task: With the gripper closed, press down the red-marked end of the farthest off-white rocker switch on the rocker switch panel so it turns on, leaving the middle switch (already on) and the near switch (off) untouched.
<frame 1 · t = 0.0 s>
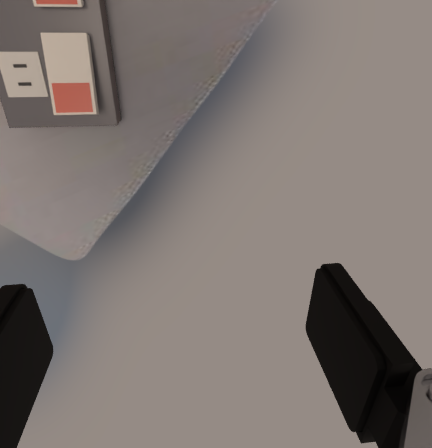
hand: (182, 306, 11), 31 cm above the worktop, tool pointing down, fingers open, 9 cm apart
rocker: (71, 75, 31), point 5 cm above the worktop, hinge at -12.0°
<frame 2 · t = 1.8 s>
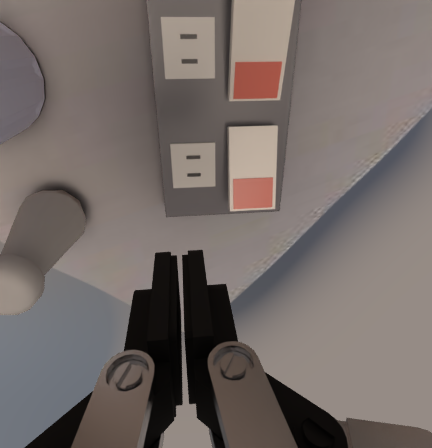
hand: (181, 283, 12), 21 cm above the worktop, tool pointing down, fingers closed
rocker middle: (258, 49, 23), point 5 cm above the worktop, hinge at 12.0°
rocker switch panel: (220, 47, 27), on the worktop
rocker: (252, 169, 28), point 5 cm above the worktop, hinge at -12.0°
salt shaker: (61, 207, 33), on the worktop
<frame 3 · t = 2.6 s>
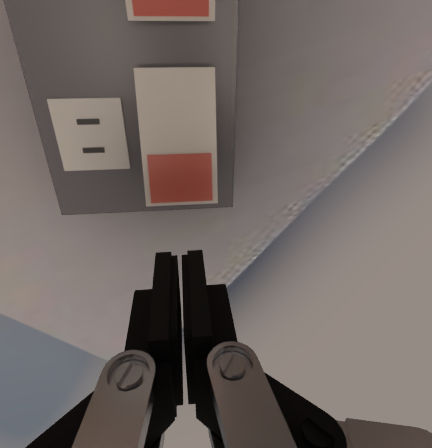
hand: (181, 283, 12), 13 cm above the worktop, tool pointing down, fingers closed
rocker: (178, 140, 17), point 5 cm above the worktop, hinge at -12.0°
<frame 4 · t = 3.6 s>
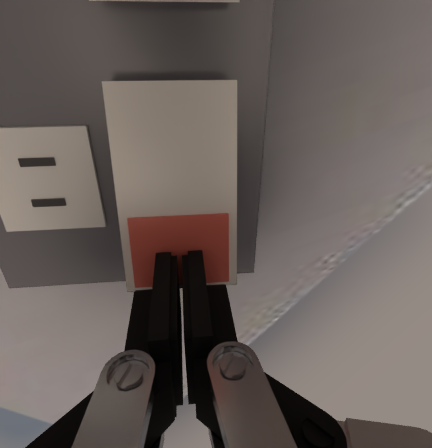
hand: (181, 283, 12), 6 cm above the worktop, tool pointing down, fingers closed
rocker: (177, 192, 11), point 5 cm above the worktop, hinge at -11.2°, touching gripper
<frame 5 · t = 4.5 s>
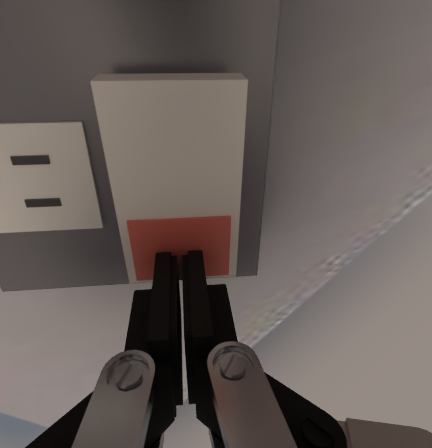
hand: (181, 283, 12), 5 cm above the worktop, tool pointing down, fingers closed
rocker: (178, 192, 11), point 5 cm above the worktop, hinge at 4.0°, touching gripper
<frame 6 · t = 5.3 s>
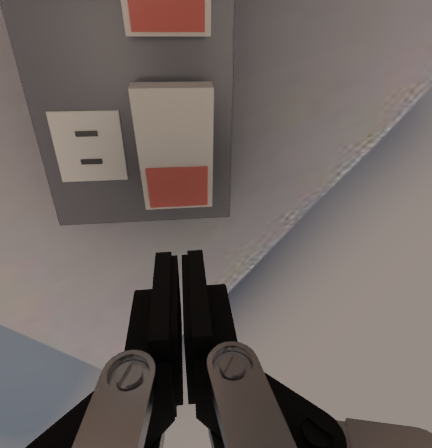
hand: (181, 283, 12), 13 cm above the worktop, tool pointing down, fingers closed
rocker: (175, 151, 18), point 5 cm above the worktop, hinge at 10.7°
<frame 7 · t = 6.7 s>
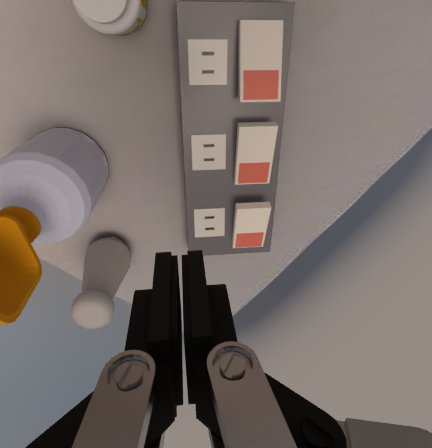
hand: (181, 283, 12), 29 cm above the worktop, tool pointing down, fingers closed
rocker middle: (254, 155, 35), point 5 cm above the worktop, hinge at 12.0°
rocker switch panel: (228, 144, 39), on the worktop
soap bottle: (70, 164, 39), on the worktop
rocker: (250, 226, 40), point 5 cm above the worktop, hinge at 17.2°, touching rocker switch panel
salt shaker: (111, 247, 45), on the worktop
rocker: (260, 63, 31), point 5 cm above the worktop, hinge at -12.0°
supplement bottle: (119, 3, 32), on the worktop
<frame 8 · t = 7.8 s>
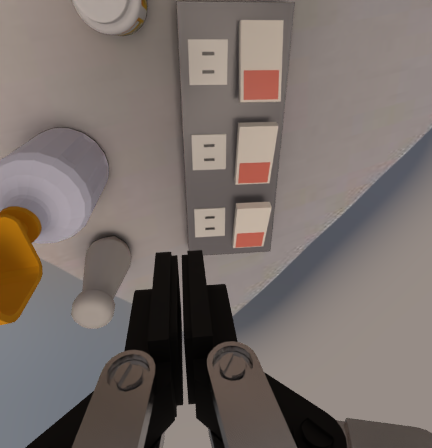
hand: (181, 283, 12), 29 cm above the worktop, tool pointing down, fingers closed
rocker middle: (254, 154, 35), point 5 cm above the worktop, hinge at 12.0°
rocker switch panel: (229, 144, 39), on the worktop
soap bottle: (70, 164, 39), on the worktop
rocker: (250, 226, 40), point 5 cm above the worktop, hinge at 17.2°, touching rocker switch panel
salt shaker: (112, 247, 45), on the worktop
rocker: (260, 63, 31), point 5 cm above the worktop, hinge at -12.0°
supplement bottle: (119, 4, 32), on the worktop
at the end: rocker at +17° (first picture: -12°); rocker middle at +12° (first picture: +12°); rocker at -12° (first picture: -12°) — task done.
